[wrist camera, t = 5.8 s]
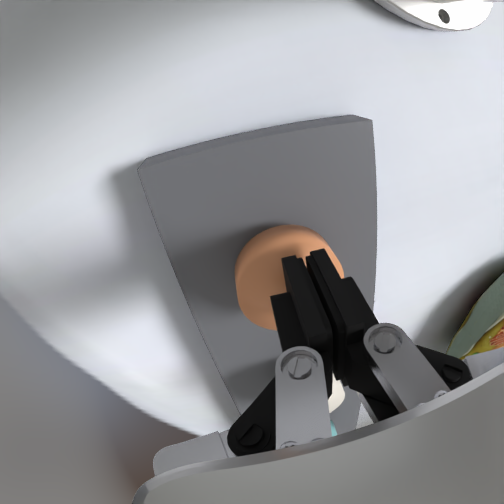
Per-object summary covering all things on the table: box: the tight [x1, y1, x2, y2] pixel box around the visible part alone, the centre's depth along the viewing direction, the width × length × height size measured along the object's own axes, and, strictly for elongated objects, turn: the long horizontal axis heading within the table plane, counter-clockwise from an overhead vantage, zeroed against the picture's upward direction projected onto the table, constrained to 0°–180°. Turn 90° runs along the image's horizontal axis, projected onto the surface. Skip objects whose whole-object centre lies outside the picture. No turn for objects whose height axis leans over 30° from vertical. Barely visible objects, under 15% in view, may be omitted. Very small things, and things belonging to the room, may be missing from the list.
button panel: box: [137, 115, 377, 435], centre depth 20 cm, size 30×10×2 cm, turn 12°
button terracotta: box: [234, 225, 344, 330], centre depth 13 cm, size 5×5×2 cm
